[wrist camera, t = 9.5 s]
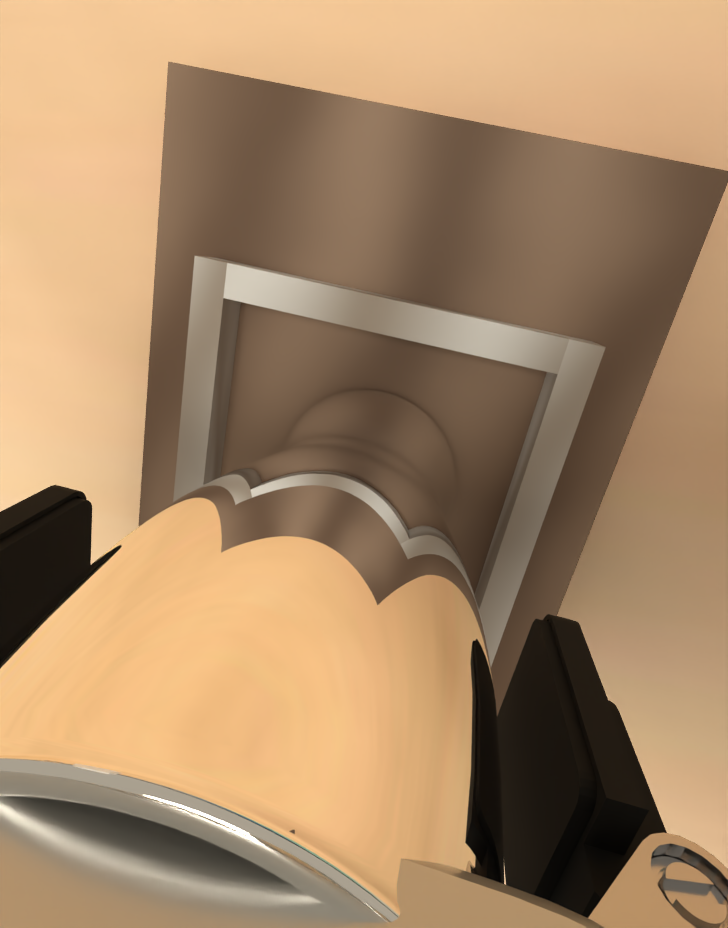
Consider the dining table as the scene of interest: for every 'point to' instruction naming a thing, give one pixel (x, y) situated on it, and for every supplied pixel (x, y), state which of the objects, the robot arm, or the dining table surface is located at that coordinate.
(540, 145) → the walnut board
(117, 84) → the dining table surface
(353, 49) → the dining table surface
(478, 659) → the beer glass
